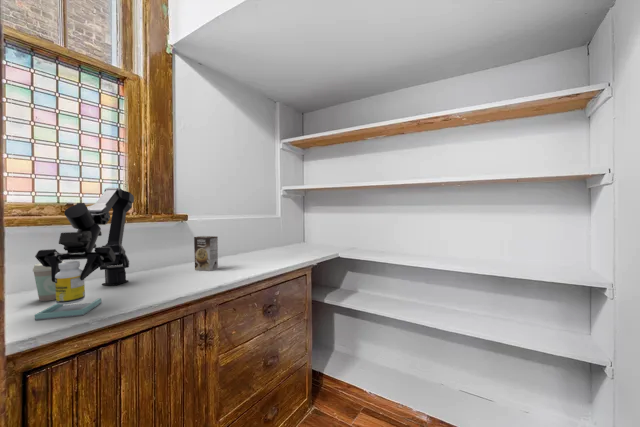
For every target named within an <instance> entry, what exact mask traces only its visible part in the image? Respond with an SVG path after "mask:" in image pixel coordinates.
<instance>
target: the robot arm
mask: <svg viewBox="0 0 640 427" xmlns="http://www.w3.org/2000/svg"><path fill="white" fill-rule="evenodd" d="M134 202H135V197H134V195H133V194H132V193H131V192H129V191H127V190H124V189H122V188H119V187H107V188H105V189H104V192H103V194H102V195H100V197H99V198H98V199H97V201H96V202H95V203H94V204H92V205H91V204H90V205H88V206H87V205H86V203H85V202H77V203H75V205H72V206H69V207H68V208H67V209H64V216H65V217H66V219H67V221H68V222H69V223H70V225H71V226H72V228H73V229H76V231H73V232H67V231H66V232H60V235H59V240H58V244H59V245H63V250H64V251H65V252H59V251H57V249H56V248H54V249H52V248H51V249H40V250H38V251H37V252H36V254H35V256H34V258H36V260H37V261H38V262H39V263H41V264H42V265H43V266H45V267H51V277H52V282H55V275H56V274H57V273H58V272H60V269H59V264H60V263H62V261H68V260H70V261H80V260H86V262H85V265H84V267H83V269H82V270H83V271H82V273H81V277H80V279H81V280H84V281H85V279H86V278H87V277H89V276H90V275H91V274H92V273H93V272H95V270H97V269H99V270H100V271H103V270H104V282H103V283H101V285H102V286H118V285H121V284H125V283H127V282H129V279H127V275H126V274H127V273H126V272H127V271H126V268H128V269H129V268H130V260H129V258H128V256H127V254H126V249H125V248H124V247H123V237H124V232H125V231H124V230H125V223H126V218H127V217H126V216H127V213H129V211H130V210H131V209H132V207H133V203H134ZM111 209H112V212H111V214H110V211H111ZM110 219H111V220H110ZM109 221H110V224H109V225H110V227H109V233H108V237H107V238H108V239H107V243H106V244H105V245H102V246H97V240H98V238H99V237H101V236H102V235H103V234H102V229H101V226H102V225H103V226H104V225H105V226H106V225H107V224H108V222H109ZM93 249H94V251H93Z"/></svg>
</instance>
